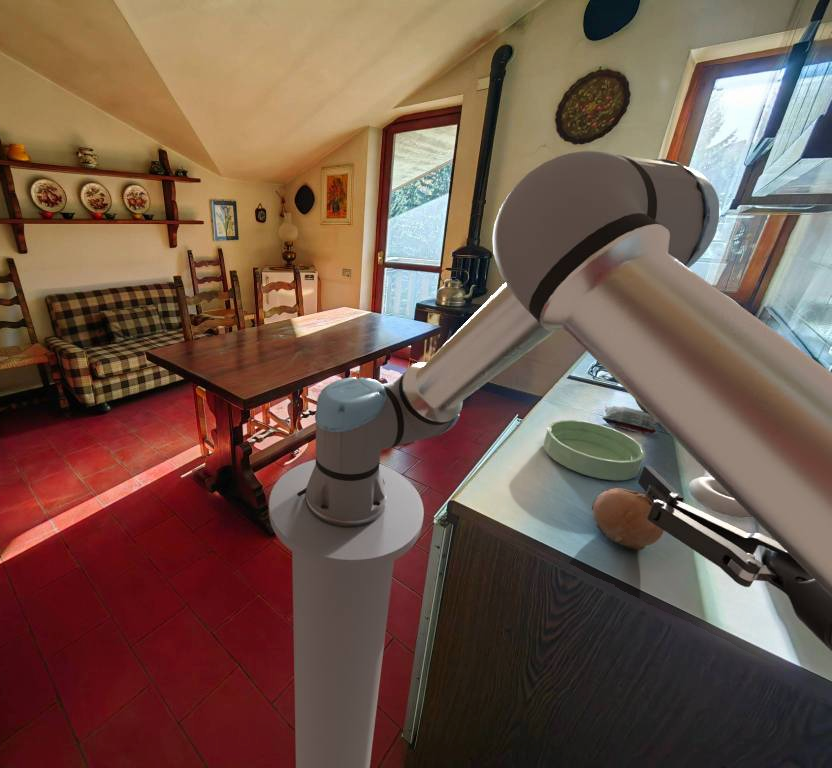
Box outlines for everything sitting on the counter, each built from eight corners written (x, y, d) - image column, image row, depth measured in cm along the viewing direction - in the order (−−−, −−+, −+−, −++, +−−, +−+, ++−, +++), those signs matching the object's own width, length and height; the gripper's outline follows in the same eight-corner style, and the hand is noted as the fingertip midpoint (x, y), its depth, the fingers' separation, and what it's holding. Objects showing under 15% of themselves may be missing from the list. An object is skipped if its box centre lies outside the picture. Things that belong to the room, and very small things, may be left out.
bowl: (580, 485, 80) (587, 464, 78) (526, 439, 96) (531, 421, 94) (659, 479, 82) (668, 459, 80) (593, 436, 98) (599, 418, 96)
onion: (634, 550, 68) (684, 514, 63) (627, 568, 61) (682, 528, 57) (584, 506, 73) (626, 470, 68) (572, 518, 66) (618, 479, 62)
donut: (677, 483, 81) (698, 512, 72) (683, 469, 80) (706, 497, 71) (739, 495, 77) (770, 528, 69) (747, 481, 76) (779, 512, 68)
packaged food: (602, 414, 110) (607, 398, 108) (656, 427, 103) (662, 411, 101) (599, 426, 103) (604, 409, 101) (655, 441, 96) (662, 423, 95)
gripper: (696, 641, 34) (589, 492, 54) (1060, 701, 30) (802, 516, 50) (732, 580, 32) (605, 445, 51) (1138, 637, 28) (832, 467, 47)
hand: (702, 480), depth 50 cm, fingers open, 13 cm apart
